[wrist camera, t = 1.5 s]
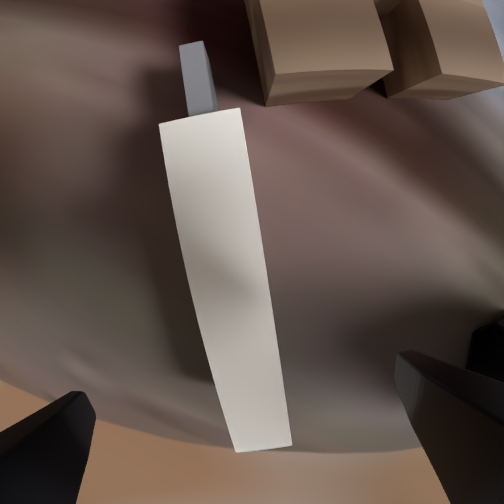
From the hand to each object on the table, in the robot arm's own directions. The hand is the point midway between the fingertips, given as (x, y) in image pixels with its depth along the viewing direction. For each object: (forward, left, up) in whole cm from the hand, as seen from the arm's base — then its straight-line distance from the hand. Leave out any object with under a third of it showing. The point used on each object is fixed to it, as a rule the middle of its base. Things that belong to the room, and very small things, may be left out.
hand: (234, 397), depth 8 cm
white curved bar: (+2, 0, -11) cm, 11 cm away
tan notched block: (+14, -9, -11) cm, 20 cm away
